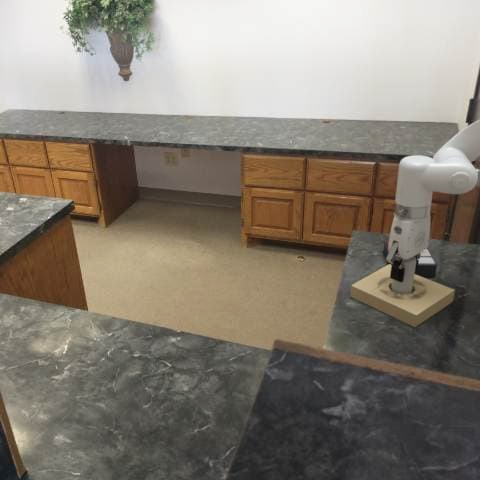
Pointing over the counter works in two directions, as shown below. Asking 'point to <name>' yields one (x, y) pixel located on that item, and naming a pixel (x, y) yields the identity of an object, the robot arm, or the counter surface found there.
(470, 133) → the robot arm
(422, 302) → the socket pad
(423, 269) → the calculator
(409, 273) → the beverage can
